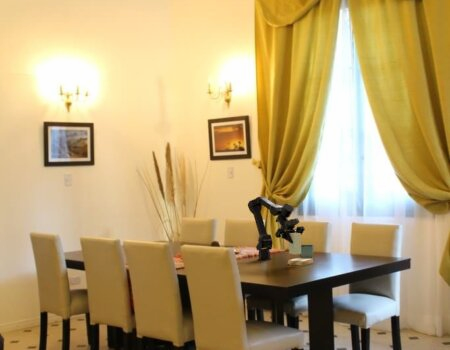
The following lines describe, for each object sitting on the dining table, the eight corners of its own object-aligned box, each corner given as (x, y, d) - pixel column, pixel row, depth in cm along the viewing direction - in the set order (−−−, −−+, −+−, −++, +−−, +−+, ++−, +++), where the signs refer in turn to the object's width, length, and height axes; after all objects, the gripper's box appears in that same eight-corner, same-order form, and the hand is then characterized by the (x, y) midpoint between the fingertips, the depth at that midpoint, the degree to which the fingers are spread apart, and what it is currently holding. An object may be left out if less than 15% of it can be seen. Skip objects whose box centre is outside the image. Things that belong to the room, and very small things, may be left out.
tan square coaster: (287, 265, 374) (287, 260, 374) (297, 262, 383) (297, 257, 383) (304, 266, 367) (304, 261, 367) (313, 263, 376) (313, 258, 376)
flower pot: (313, 261, 384) (313, 246, 384) (299, 261, 386) (298, 246, 386) (314, 258, 393) (313, 244, 393) (300, 259, 395) (299, 244, 395)
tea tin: (289, 253, 371) (288, 233, 371) (296, 252, 374) (295, 232, 374) (294, 254, 367) (293, 234, 367) (301, 253, 370) (300, 233, 369)
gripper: (277, 214, 369) (289, 235, 360) (302, 212, 378) (314, 232, 369) (269, 227, 376) (281, 247, 366) (294, 225, 385) (306, 244, 376)
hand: (296, 242), depth 369 cm, fingers closed on tea tin, 5 cm apart
